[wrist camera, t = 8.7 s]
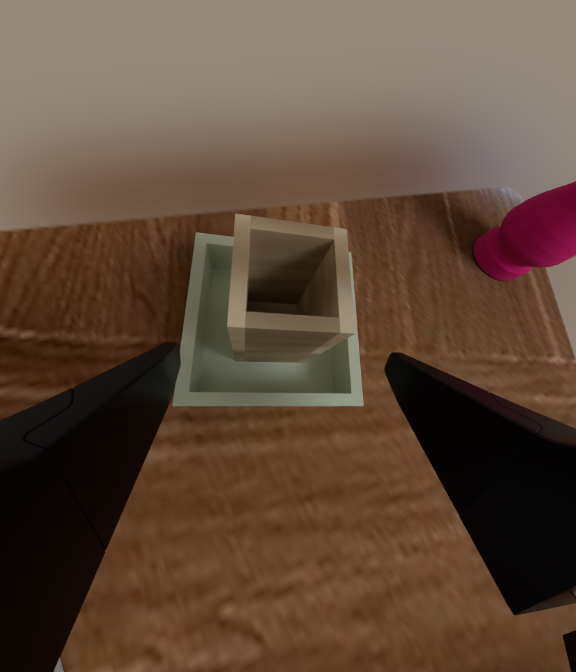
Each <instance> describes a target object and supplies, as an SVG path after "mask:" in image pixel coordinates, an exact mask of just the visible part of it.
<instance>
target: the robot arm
mask: <svg viewBox="0 0 576 672" xmlns="http://www.w3.org/2000/svg"><path fill="white" fill-rule="evenodd" d="M180 366H181V358H180V349H179V345H178V343H172V342H166V343H164V344H162V345H160V346H158V347H156V348H154V349H151V350H149V351H147V352H145V353H143V354H141V355H139V356H137V357H135V358H133V359H131V360H129V361H127V362H125V363H122V364H120V365H118V366H116V367H114V368H112V369H110V370H108V371H106V372H104V373H102V374H100V375H98V376H95V377H93V378H91V379H89V380H87V381H85V382H83V383H81V384H79V385H77V386H75V387H73V389H72V388H71V389H68V390H66V391H64V392H62V393H60V394H58V395H56V396H54V397H52V398H50V399H47V400H45V401H43V402H41V403H39V404H37V405H35V406H32V407H30V408H28V409H25V410H23V411H21V412H18V413H16V414H14V415H12V416H9V417H7V418H5V419H2V420H0V672H54V670H55V667H56V665H57V663H58V660H59V658H60V656H61V653H62V651H63V649H64V646H65V644H66V642H67V639H68V637H69V635H70V633H71V630H72V628H73V626H74V623H75V621H76V619H77V616H78V614H79V612H80V609H81V607H82V605H83V602H84V600H85V598H86V595H87V593H88V591H89V589H90V586H91V584H92V582H93V579H94V577H95V575H96V572H97V570H98V568H99V565H100V563H101V561H102V558H103V556H104V554H105V550H106V549H107V546H108V544H109V542H110V540H111V537H112V535H113V533H114V530H115V528H116V526H117V523H118V521H119V519H120V516H121V514H122V512H123V510H124V507H125V505H126V503H127V500H128V498H129V496H130V493H131V491H132V489H133V486H134V484H135V482H136V479H137V477H138V475H139V473H140V470H141V468H142V466H143V463H144V461H145V459H146V456H147V454H148V452H149V449H150V447H151V445H152V442H153V440H154V438H155V436H156V433H157V431H158V429H159V426H160V424H161V422H162V419H163V417H164V415H165V412H166V410H167V408H168V405H169V403H170V400H171V397H172V394H173V391H174V387H175V384H176V380H177V377H178V373H179V370H180ZM385 374H386V376H387V379H388V381H389V383H390V386H391V388H392V391H393V393H394V395H395V398H396V400H397V402H398V404H399V406H400V408H401V410H402V411H403V413H404V415H405V417H406V419H407V421H408V422H409V424H410V426H411V428H412V430H413V432H414V433H415V435H416V437H417V439H418V441H419V443H420V444H421V446H422V448H423V450H424V452H425V454H426V456H427V457H428V459H429V461H430V463H431V465H432V467H433V468H434V470H435V472H436V474H437V476H438V478H439V479H440V481H441V483H442V485H443V487H444V489H445V490H446V492H447V494H448V496H449V498H450V500H451V501H452V503H453V505H454V507H455V509H456V511H457V513H458V514H459V517H460V518H461V520H462V522H463V524H464V526H465V528H466V529H467V531H468V533H469V535H470V537H471V539H472V541H473V542H474V544H475V546H476V548H477V550H478V552H479V553H480V555H481V557H482V559H483V561H484V563H485V564H486V566H487V568H488V570H489V572H490V574H491V576H492V577H493V579H494V581H495V583H496V585H497V587H498V588H499V590H500V592H501V594H502V596H503V598H504V599H505V601H506V603H507V605H508V606H509V608H510V610H511V611H512V613H513V614H514V615H520V614H525V613H530V612H535V611H540V610H545V609H549V608H554V607H559V606H564V605H569V604H574V603H576V429H575V428H573V427H571V426H568V425H566V424H563V423H561V422H558V421H556V420H554V419H551V418H549V417H546V416H544V415H541V414H539V413H536V412H534V411H532V410H529V409H527V408H525V407H522V406H520V405H517V404H515V403H513V402H511V401H508V400H506V399H504V398H501V397H499V396H497V395H495V394H492V393H489V392H488V391H486V390H483V389H481V388H479V387H477V386H474V385H472V384H470V383H468V382H465V381H463V380H461V379H459V378H457V377H454V376H452V375H450V374H448V373H445V372H443V371H441V370H439V369H436V368H434V367H432V366H430V365H427V364H425V363H423V362H421V361H418V360H416V359H414V358H412V357H409V356H407V355H405V354H403V353H397V352H393V353H391V354H390V356H389V358H388V360H387V363H386V365H385ZM563 639H564V643H565V647H566V652H567V656H568V660H569V664H570V669H571V672H576V630H575V631H572V632H570V633H567V634H564V635H563Z"/></svg>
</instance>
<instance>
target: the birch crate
mask: <svg viewBox="0 0 576 672" xmlns="http://www.w3.org/2000/svg"><path fill="white" fill-rule="evenodd" d="M227 328H228V332H229V336H230V340H231V344H232V348H233V352H234V356H235V360H236V361H244V362H280V363H305V362H307V361H309V360H311V359H312V358H314V357H316V356H317V355H319V354H321V353H323V352H324V351H326V350H328V349H330V348H331V347H333V346H335V345H336V344H338V343H340V342H342V341H343V340H345V339H347V338H349V337H350V336H352V335H354V334H355V324H354V312H353V300H352V288H351V276H350V264H349V251H348V239H347V229H341V228H334V227H326V226H319V225H312V224H305V223H298V222H291V221H284V220H277V219H270V218H263V217H256V216H248V215H241V214H236V215H235V228H234V241H233V254H232V268H231V281H230V294H229V308H228V321H227Z"/></svg>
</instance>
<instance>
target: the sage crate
mask: <svg viewBox="0 0 576 672" xmlns="http://www.w3.org/2000/svg"><path fill="white" fill-rule="evenodd" d="M233 241H234V237H228V236H221V235H213V234H205V233H197V232H196V237H195V244H194V252H193V259H192V266H191V274H190V281H189V288H188V296H187V303H186V310H185V318H184V325H183V332H182V340H181V347H180V358H181V366H180V370H179V373H178V377H177V380H176V384H175V391H174V399H173V406H363V394H362V382H361V370H360V357H359V345H358V332H357V320H356V307H355V295H354V283H353V270H352V258H351V252H349V264H350V276H351V288H352V300H353V312H354V324H355V334H354V335H352V336H350V337H349V338H347V339H345V340H343V341H342V342H340V343H338V344H336V345H335V346H333V347H331V348H330V349H328V350H326V351H324V352H323V353H321V354H319V355H317V356H316V357H314V358H312V359H311V360H309V361H307V362H305V363H280V362H244V361H236V360H235V356H234V352H233V348H232V344H231V340H230V336H229V332H228V328H227V321H228V308H229V294H230V281H231V268H232V254H233Z"/></svg>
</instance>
